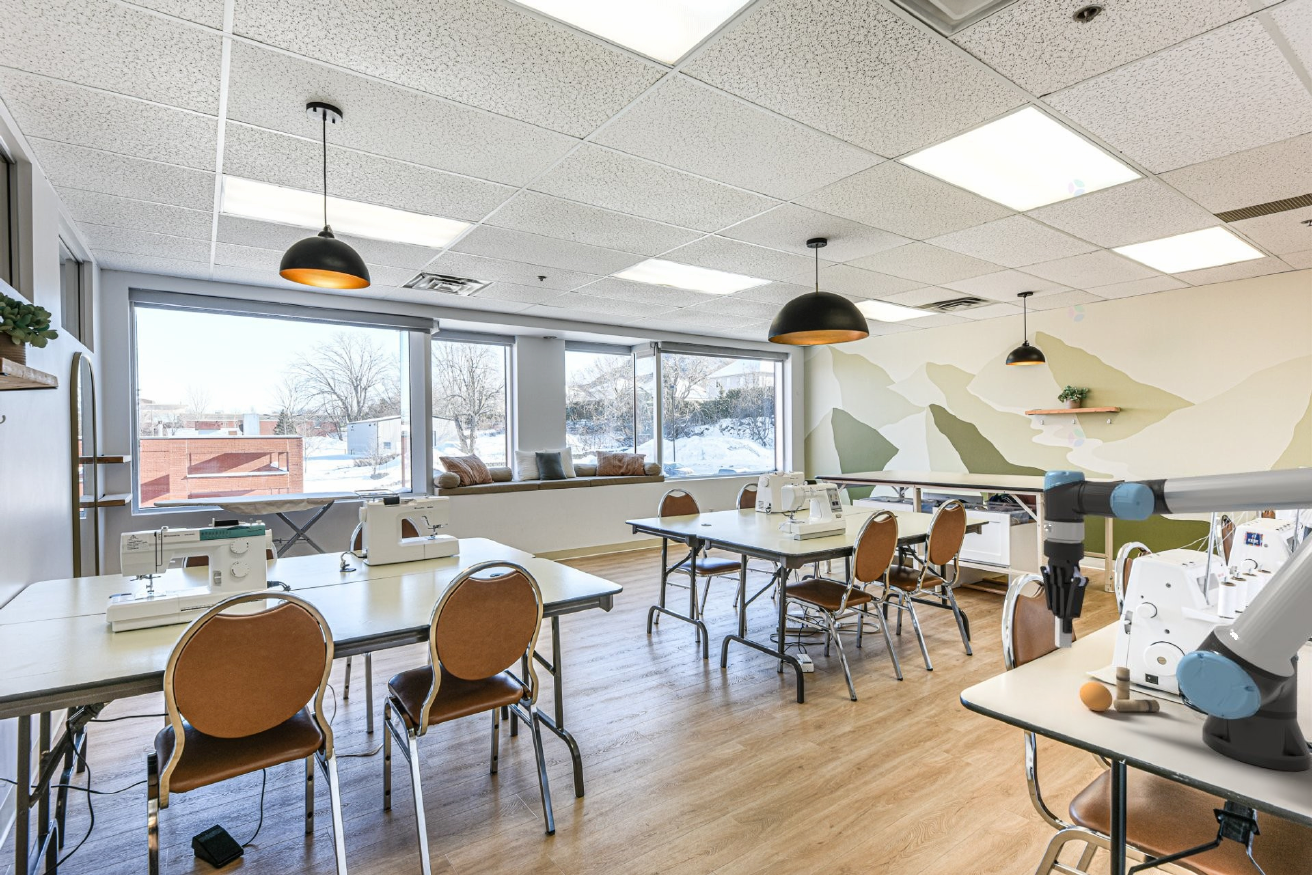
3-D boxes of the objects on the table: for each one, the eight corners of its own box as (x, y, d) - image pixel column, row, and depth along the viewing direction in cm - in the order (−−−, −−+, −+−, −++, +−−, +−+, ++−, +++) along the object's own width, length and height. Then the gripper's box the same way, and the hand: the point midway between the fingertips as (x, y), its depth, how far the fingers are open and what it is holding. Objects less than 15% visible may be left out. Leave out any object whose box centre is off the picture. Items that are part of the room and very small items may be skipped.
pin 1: (1130, 706, 141) (1130, 668, 141) (1129, 709, 139) (1129, 671, 140) (1116, 703, 143) (1116, 665, 143) (1115, 706, 141) (1115, 668, 141)
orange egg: (1077, 680, 139) (1077, 708, 139) (1110, 687, 135) (1110, 716, 135) (1081, 677, 144) (1081, 704, 143) (1114, 683, 140) (1114, 711, 139)
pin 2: (1117, 713, 139) (1156, 713, 139) (1123, 707, 137) (1161, 707, 137) (1111, 702, 141) (1149, 703, 141) (1116, 697, 139) (1154, 697, 139)
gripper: (1028, 535, 145) (1028, 637, 145) (1066, 544, 132) (1066, 656, 132) (1060, 535, 145) (1060, 637, 145) (1101, 545, 132) (1101, 656, 132)
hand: (1063, 646), depth 138 cm, fingers closed
